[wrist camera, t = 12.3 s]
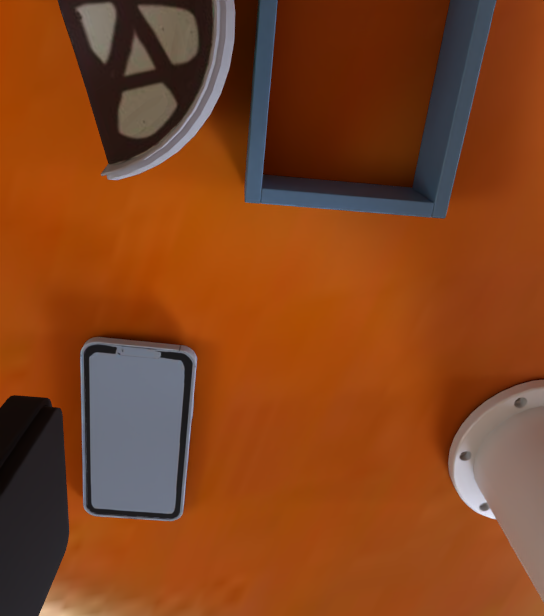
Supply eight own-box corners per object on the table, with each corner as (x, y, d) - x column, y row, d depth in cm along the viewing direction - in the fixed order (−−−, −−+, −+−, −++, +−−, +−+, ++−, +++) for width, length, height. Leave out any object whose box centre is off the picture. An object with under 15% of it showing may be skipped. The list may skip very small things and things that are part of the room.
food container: (257, 132, 29) (263, 160, 20) (148, 153, 29) (105, 190, 20) (208, -146, 24) (187, -280, 15) (77, -120, 24) (-25, -237, 15)
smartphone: (82, 515, 39) (79, 340, 32) (86, 505, 40) (83, 332, 33) (182, 522, 39) (198, 351, 33) (184, 512, 40) (199, 344, 34)
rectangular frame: (497, -151, 24) (542, -191, 21) (422, 201, 31) (445, 219, 27) (271, -185, 23) (276, -232, 20) (244, 186, 30) (244, 202, 26)
